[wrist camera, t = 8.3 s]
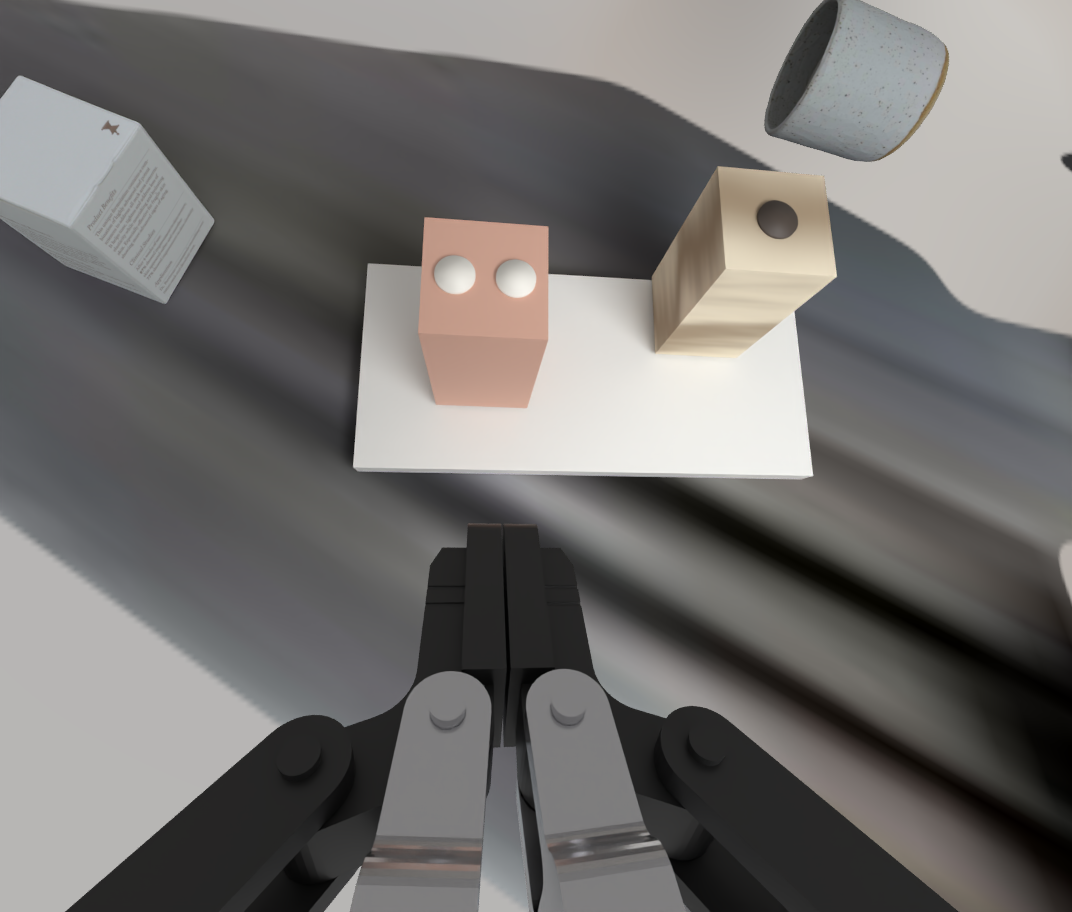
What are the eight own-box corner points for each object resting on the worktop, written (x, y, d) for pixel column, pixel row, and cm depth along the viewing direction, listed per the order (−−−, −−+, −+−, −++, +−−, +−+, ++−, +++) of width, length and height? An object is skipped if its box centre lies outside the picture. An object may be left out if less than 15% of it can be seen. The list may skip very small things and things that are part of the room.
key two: (527, 408, 29) (548, 338, 20) (435, 404, 29) (417, 331, 20) (527, 325, 30) (548, 224, 21) (440, 320, 30) (424, 214, 21)
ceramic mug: (867, 191, 37) (966, 94, 30) (757, 160, 36) (830, 53, 29) (874, 75, 40) (967, -41, 32) (772, 45, 39) (842, -81, 32)
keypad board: (781, 297, 34) (791, 288, 33) (800, 479, 32) (812, 475, 31) (372, 274, 32) (367, 263, 30) (358, 471, 29) (353, 467, 28)
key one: (736, 357, 31) (839, 274, 22) (655, 353, 31) (727, 266, 22) (730, 281, 32) (826, 173, 24) (651, 276, 32) (719, 163, 23)
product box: (123, 183, 31) (17, 68, 24) (219, 222, 31) (143, 120, 24) (64, 267, 30) (-66, 173, 23) (166, 309, 30) (68, 227, 23)
